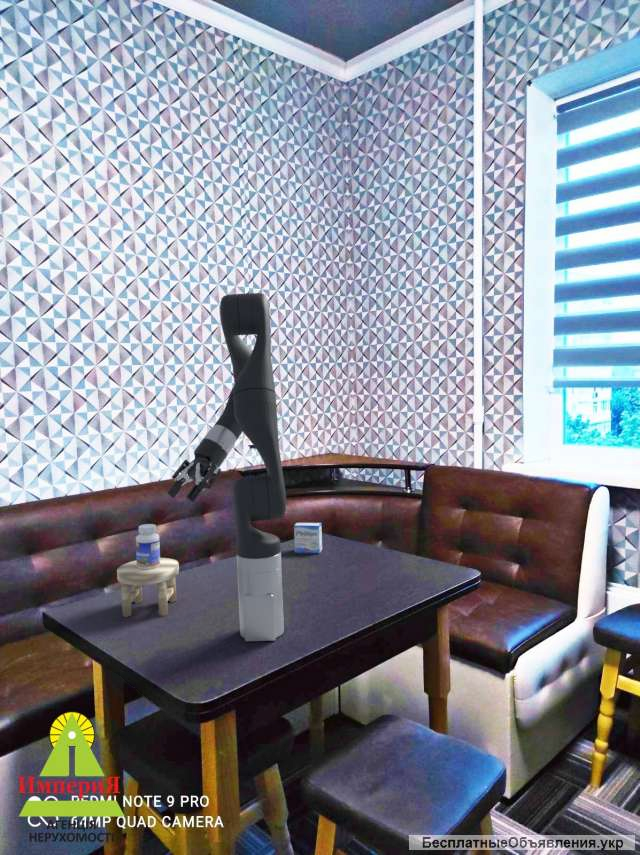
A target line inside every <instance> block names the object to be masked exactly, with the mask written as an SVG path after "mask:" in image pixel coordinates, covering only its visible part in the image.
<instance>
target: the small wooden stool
mask: <svg viewBox="0 0 640 855" xmlns="http://www.w3.org/2000/svg"><path fill="white" fill-rule="evenodd" d="M179 565H180V563H179V561H178V560H177V559H174V558H169V557H168V558H167V557H160V565H159V566H158V567H156V568H153V569H139V568H137V562H136V559H135V560H132V561H130V562H129V561H128V562H126V563H124V564H121V565H119V566H118V568H117V569H116V576H117V577H116V579H117V582H119V583H120V594H121V597H120V598H121V608H122V609H121V612H122V617H123V616H124V617H123V618H129V617H131V616H132V615H133V612H132V603H134V602H135V603H134V604H140V603H139V602H141V601H142V602H143V593H142V592H143V590H142V586H147V585H154V584H156V585H157V596H158V598H157V600H158V615H159V617H160V616H161V617H163V616H164V617H165V616H167V615H169V606H168V605H169V604H168V601H169V603H174V601H175V602H177V584H176V580H177V579H176V577H177V576H178V575H179V573H180V567H179ZM131 586H132V590H131ZM142 602H141V603H142ZM128 616H129V617H128Z"/></svg>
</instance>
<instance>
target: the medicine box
mask: <svg viewBox="0 0 640 855" xmlns="http://www.w3.org/2000/svg"><path fill="white" fill-rule="evenodd" d="M293 530H294V531H293V532H294V533H293V534H294V535H293V536H294V537H293V538H294V553H295V554H321V552H322V550H323V534H322V533H323V532H322V531H323V530H322V522H296V523H295V524H294V526H293Z"/></svg>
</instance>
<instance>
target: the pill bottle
mask: <svg viewBox="0 0 640 855" xmlns="http://www.w3.org/2000/svg"><path fill="white" fill-rule="evenodd" d="M156 532H157V525H156V524H153V523H145V524H140V525H138V533H139V534H137V536H135V552H136V554H135V556H136V559H135V560H136V562H137V568H139V569H153V568H156V567H158V566H159V565H160V558H161V546H160V544H161V542H160V535H159V534H158V533H156Z"/></svg>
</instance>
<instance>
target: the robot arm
mask: <svg viewBox="0 0 640 855" xmlns="http://www.w3.org/2000/svg"><path fill="white" fill-rule="evenodd" d="M269 304H270V303H269V300H268V298H267V296H266V295H265V293H262V292H261V293H259V292H253V293H251V292H248V293H247V292H246V293H233V294H232V293H230V294H226V295H224V296H223V297H221V300H220V303H219V316H220V323H221V324H220V325H221V328H222V333H223V336H224V340H225V344H226V348H227V351H228V354H229V357H230V360H231V365H232V373H233V374H232V375H233V382H234V385H233V387H232V388H231V390H230V392H229V393H230V394H229V396H228V399H227V402H226V404H225V407H224V409H223V411H222V414H221V415H220V417H219V418H218V419H217V421H216V422H215V423H214V425H213V427H211V428H210V429H209V431H208V432H206V434H205V436H204V437H203V438H202V439H201V441H200V442H199V444H198V446H197V447H196V448H194V451H193V455H194V459H193V460H192V461H188V460H187V459H185V460H183V462H182V463H181V464H180V466H178V468H177V469H176V471H175V472H174V473H173V475H172V477H171V478H172V479H173V480H174V482H173V483H172V485H171V486H170V488H169V489H168V491H167V492H166V493H167V494H166V495H168V496H169V497H170V498H172V499H173V498H175V497H176V496H177V495H178V493H179V492H180V491H181V489H182V488H183V486H184V485H186V484H187V483H191V482H193V481H195V484H194V485H193V486H192V487H191V489H190V490H189V492H188V493H187V494H186V496H185V499H187V500H188V502H190V503H193V502H195V501H196V499H198V496H199V495H200V494H201V492H202V491H205V489H207V490H210V489H211V488H212V487H213V485H214V483H215V481H216V480H217V478H218V477H219V475H220V474H221V472H222V469H221V468H220V467H221V466H222V464H223V463H224V461H225V460H226V458H227V457H228V456H229V454H230V452H231V451H232V450H233V448H234V446H235V443H236V442H237V441H238V439H239V438H240V436H242V433H244V435H245V436H246V437H247V439H248V440H249V441H250V443H252V445H253V447H254V448H255V449H256V451H257V452H258V454H259V456H260V457H261V460H262V462H263V464H264V466H265V470H266V473H267V475H255V476H241V477H240V476H239V477H237V478H235V480H234V481H233V484H232V504H233V514H234V523H235V524H234V525H235V540H236V541H235V543H236V546H235V548H236V549H235V550H236V569H237V570H236V571H237V572H236V573H237V592H238V594H237V595H238V614H239V634H240V637H241V638H243V639H244V641H245V642H264V641H265V642H267V641H269V642H270V641H271V642H272V641H276V640H277V638H278V637H280V636H281V635H282V634H284V631H285V624H284V620H285V618H284V602H283V601H284V600H283V599H284V598H283V597H284V596H283V576H282V574H283V573H282V549H281V548H282V545H281V543H282V542H281V540H280V538H279V537H278V536H277V535H275V534H273V533H269V532H264V531H262V530H259V529H257V528H256V527H254V526H252V525H251V522H258V521H260V522H261V521H272V520H273V521H274V520H280V519H283V518H284V517H285V515H286V511H287V492H286V487H285V478H284V473H283V472H284V471H283V465H282V459H281V458H282V457H281V452H280V443H279V429H278V426H279V425H278V424H279V423H278V409H277V406H278V405H277V397H276V388H275V387H276V386H275V381H274V380H275V379H274V372H273V360H272V342H271V341H272V338H271V312H270V305H269ZM251 335H255V336H256V338H255V342H254V346H253V349H251V348H250V346H248V344H246V343H245V342H244V341H243V340H242V338H241V337H240V336H251Z"/></svg>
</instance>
